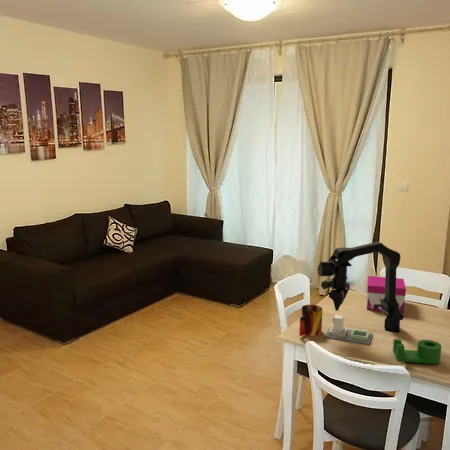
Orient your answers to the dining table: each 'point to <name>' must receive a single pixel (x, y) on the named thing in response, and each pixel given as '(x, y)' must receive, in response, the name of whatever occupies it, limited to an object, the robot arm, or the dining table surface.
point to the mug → (311, 320)
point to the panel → (350, 335)
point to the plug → (338, 323)
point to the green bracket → (418, 352)
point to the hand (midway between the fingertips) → (338, 307)
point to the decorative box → (383, 293)
